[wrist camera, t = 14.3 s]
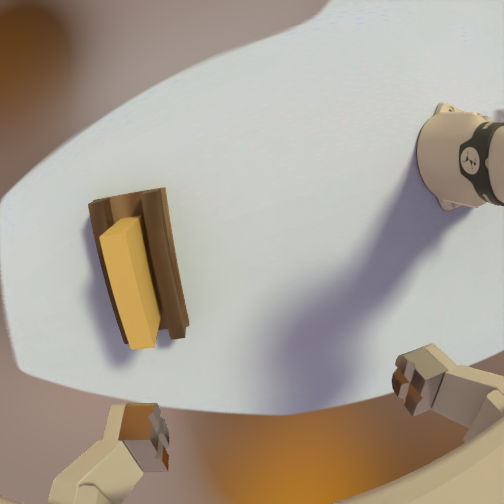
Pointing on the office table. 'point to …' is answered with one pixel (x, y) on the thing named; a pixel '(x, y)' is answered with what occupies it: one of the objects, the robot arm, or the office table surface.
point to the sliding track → (159, 248)
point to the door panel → (132, 280)
